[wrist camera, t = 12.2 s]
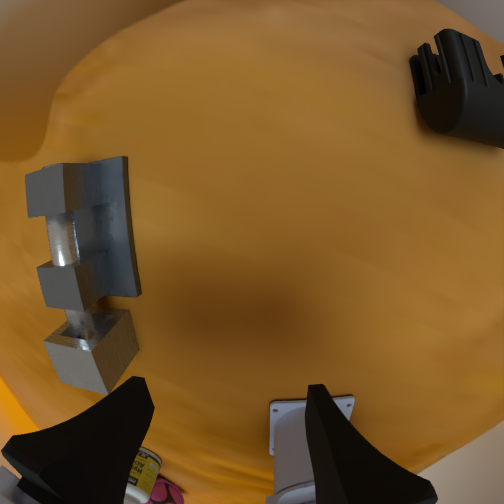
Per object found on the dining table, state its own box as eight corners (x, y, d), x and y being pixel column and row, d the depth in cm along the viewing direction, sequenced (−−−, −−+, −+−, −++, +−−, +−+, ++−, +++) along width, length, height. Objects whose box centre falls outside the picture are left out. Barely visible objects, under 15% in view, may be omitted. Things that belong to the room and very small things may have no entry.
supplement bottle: (152, 446, 26) (130, 505, 17) (168, 467, 28) (151, 520, 18) (118, 441, 27) (93, 493, 17) (135, 461, 28) (115, 510, 19)
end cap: (415, 138, 16) (471, 128, 10) (402, 55, 14) (445, 20, 8) (496, 154, 16) (548, 155, 9) (485, 82, 14) (532, 68, 7)
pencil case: (154, 463, 28) (135, 516, 18) (191, 491, 30) (180, 538, 20) (74, 457, 31) (54, 491, 22) (108, 484, 33) (93, 518, 24)
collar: (139, 349, 22) (108, 395, 16) (95, 343, 22) (61, 382, 16) (129, 309, 21) (90, 351, 15) (84, 306, 21) (43, 340, 15)
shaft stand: (154, 352, 22) (132, 390, 17) (84, 342, 22) (56, 372, 17) (127, 156, 18) (86, 153, 13) (52, 172, 18) (10, 176, 13)
